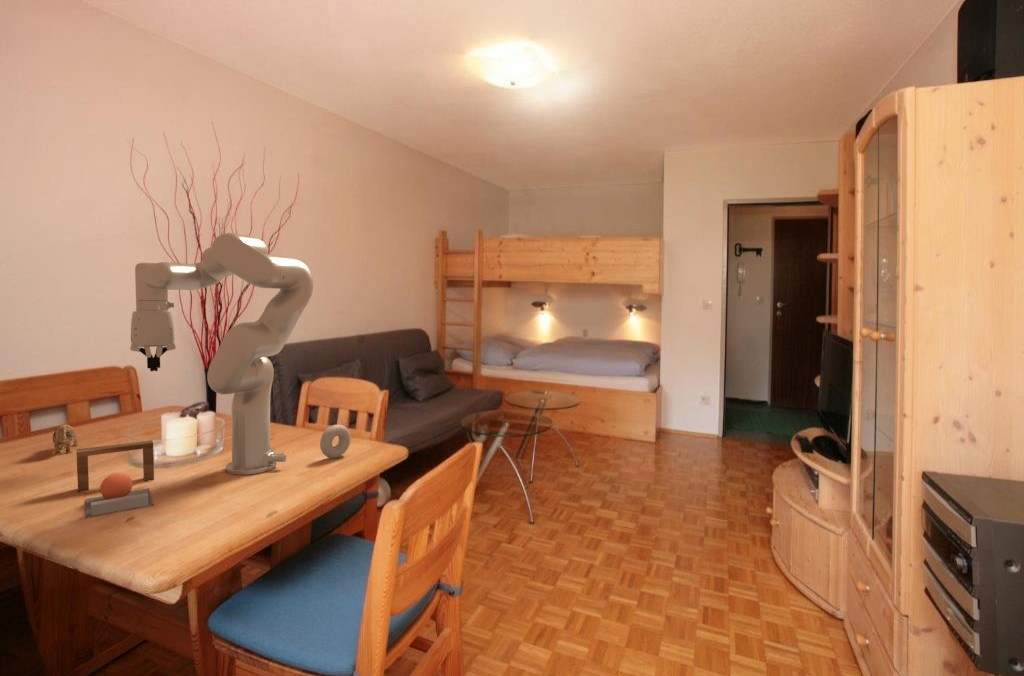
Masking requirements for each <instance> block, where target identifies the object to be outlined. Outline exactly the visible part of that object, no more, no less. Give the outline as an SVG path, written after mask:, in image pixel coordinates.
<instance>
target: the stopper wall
mask: <svg viewBox="0 0 1024 676" xmlns="http://www.w3.org/2000/svg"><path fill="white" fill-rule="evenodd" d="M142 506H147V507H149V506H148V493H143V494H137V495H131V496H125V497H120V498H114V499H108V500H102V501H97V502H91V515H92V516H93V517H95V516H94V515H99V514H104V515H106V514H105V513H110V512H115V513H117V512H116V511H120V512H122V511H121V510H126V509H131V510H133V509H132V508H136V509H138V508H137V507H142ZM142 508H143V507H142ZM126 511H127V510H126ZM110 514H111V513H110ZM99 516H100V515H99Z"/></svg>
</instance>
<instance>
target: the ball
mask: <svg viewBox="0 0 1024 676" xmlns="http://www.w3.org/2000/svg"><path fill="white" fill-rule="evenodd" d="M132 489H133V481H132V479H131V477H130V476H129V475H128V474H126V473H122V472H117V473H112V474H110V475H108V476H106V477H105V478H104V479H103V480H102V482H101V483H100V486H99V491H100V494H101V496H103V497H105V498H106V499H114V498H120V497H125V496H127V495H128V494H129V493H130V491H132Z"/></svg>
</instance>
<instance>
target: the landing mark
mask: <svg viewBox="0 0 1024 676" xmlns="http://www.w3.org/2000/svg"><path fill="white" fill-rule="evenodd" d="M143 493H148V506H142V507H137V508H132V509H126V510H121V511H116V512H110V513H105V514H99V515H94V516H92V515H91V502H97V501H102V500H108V499H106V498H105V497H103V496H102V495H101V496H100V495H99V496H95V497H89V498H86V499H85V519H87V518H92V517H93V518H94V517H98V516H103V515H109V514H115V513H120V512H126V511H130V510H136V509H141V508H148V507H151V506H154V501H153V497H152V494H151V489H150V488H143V489H136V490H131V491H130V493H129V494H128V495H127V496H131V495H137V494H143Z"/></svg>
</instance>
